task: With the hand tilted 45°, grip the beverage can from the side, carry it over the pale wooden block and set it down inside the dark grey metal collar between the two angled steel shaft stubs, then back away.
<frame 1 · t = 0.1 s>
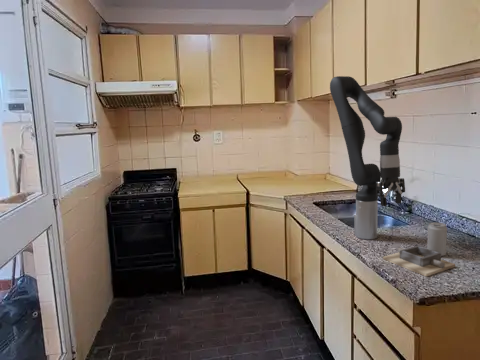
hand: (391, 204, 145), 17 cm above the worktop, tool pointing down, fingers open, 8 cm apart
beverage can: (436, 254, 135), on the worktop
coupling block: (417, 262, 128), on the worktop
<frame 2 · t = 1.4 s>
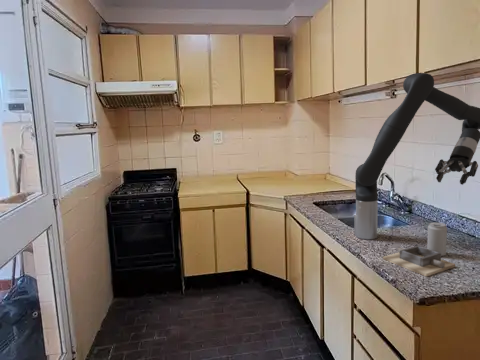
hand: (449, 182, 139), 26 cm above the worktop, tool tilted 45°, fingers open, 8 cm apart
nothing on the worktop moved.
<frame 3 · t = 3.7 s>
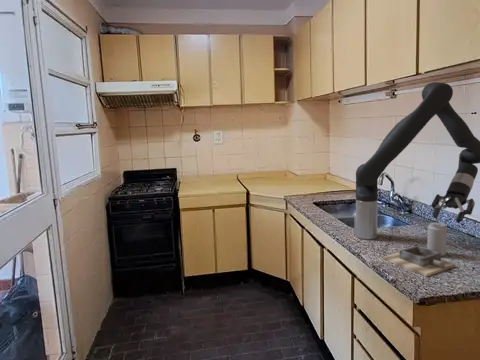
hand: (446, 219, 137), 12 cm above the worktop, tool tilted 45°, fingers open, 8 cm apart
nothing on the worktop moved.
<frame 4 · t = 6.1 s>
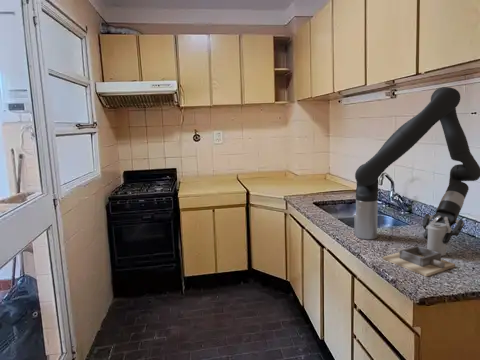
hand: (434, 240, 133), 6 cm above the worktop, tool tilted 45°, fingers closed on beverage can, 6 cm apart
beverage can: (436, 254, 135), on the worktop, touching gripper
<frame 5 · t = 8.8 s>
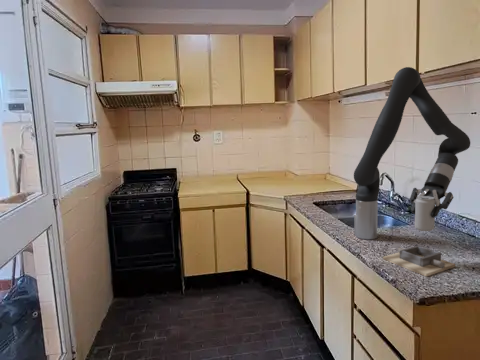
hand: (422, 214, 126), 18 cm above the worktop, tool tilted 45°, fingers closed on beverage can, 6 cm apart
beverage can: (424, 229, 128), point 12 cm above the worktop, touching gripper
when the fingers open (8 cm above the worktop, at t = 11.4 s): beverage can drops 1 cm, resting on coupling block.
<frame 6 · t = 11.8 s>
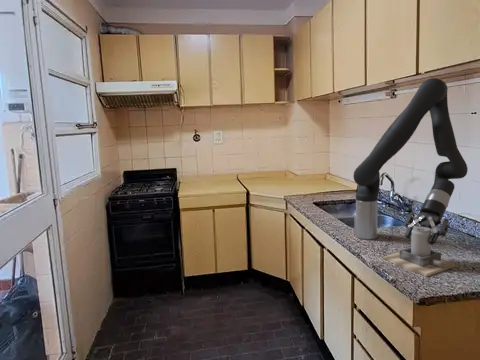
hand: (418, 240, 126), 9 cm above the worktop, tool tilted 45°, fingers open, 8 cm apart
beverage can: (420, 260, 128), point 1 cm above the worktop, touching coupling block
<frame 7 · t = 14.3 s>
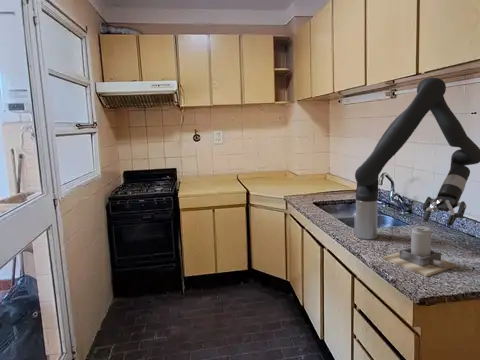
hand: (436, 222, 133), 13 cm above the worktop, tool tilted 45°, fingers open, 8 cm apart
nothing on the worktop moved.
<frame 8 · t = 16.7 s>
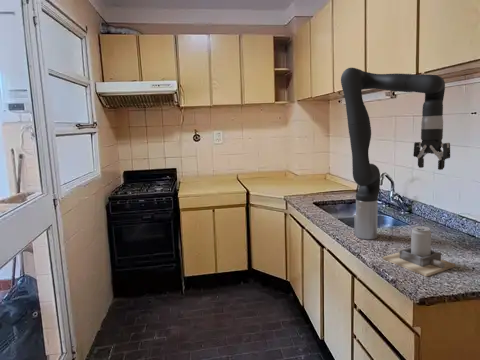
hand: (430, 168, 140), 32 cm above the worktop, tool pointing down, fingers open, 8 cm apart
nothing on the worktop moved.
at the end: beverage can 0.3 cm from the target spot on the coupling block, point 0.8 cm above the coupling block's base; beverage can tilted 0°; the gripper is holding nothing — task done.
